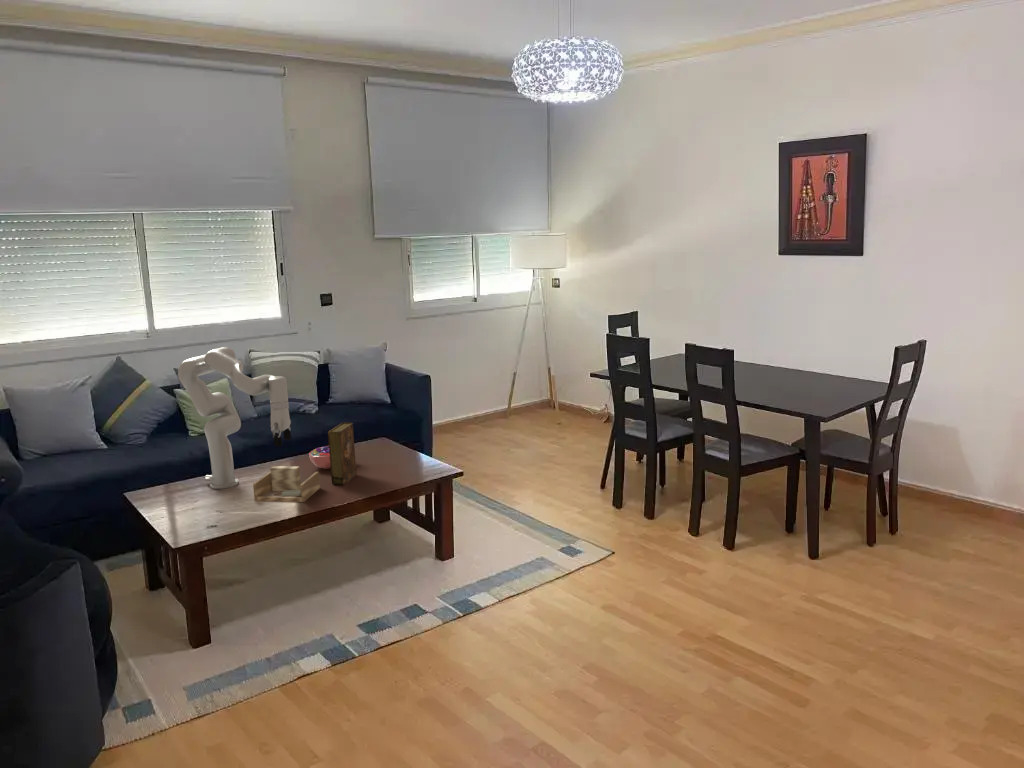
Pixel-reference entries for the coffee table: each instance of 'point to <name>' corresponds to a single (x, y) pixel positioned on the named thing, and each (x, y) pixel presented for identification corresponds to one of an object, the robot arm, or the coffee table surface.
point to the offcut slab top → (291, 493)
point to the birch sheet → (285, 478)
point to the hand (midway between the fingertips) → (282, 442)
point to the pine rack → (265, 486)
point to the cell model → (321, 457)
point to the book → (342, 453)
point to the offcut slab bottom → (278, 494)
